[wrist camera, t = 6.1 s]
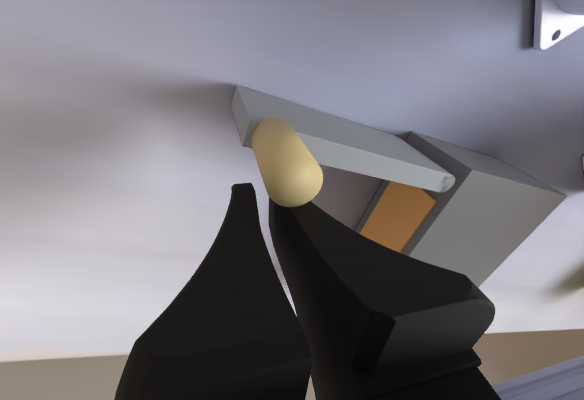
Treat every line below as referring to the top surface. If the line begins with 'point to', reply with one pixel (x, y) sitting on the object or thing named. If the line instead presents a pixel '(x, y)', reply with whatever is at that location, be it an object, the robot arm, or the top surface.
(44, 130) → the top surface
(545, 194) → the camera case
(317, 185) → the side door
